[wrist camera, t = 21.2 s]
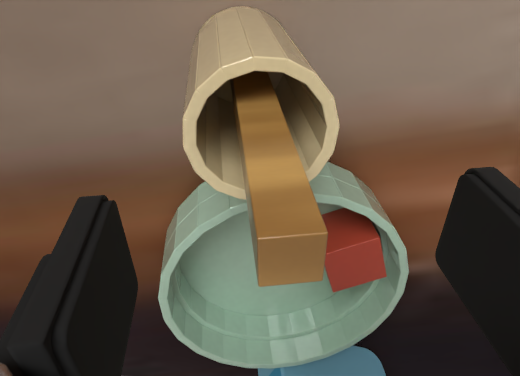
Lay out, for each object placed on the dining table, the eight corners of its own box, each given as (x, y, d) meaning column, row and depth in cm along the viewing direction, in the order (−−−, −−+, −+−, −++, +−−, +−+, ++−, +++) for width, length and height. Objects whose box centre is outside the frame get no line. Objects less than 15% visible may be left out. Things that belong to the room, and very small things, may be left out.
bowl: (223, 112, 24) (227, 150, 20) (425, 201, 30) (459, 245, 26) (134, 290, 32) (124, 344, 28) (309, 333, 38) (321, 383, 34)
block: (308, 218, 29) (321, 255, 26) (360, 202, 29) (380, 237, 26) (319, 254, 32) (333, 293, 28) (368, 239, 31) (387, 277, 28)
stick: (227, 41, 22) (256, 239, 8) (255, 40, 22) (329, 232, 9) (228, 70, 22) (257, 288, 9) (256, 69, 23) (323, 282, 10)
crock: (217, -15, 20) (224, 24, 12) (309, 37, 22) (369, 101, 14) (176, 83, 23) (159, 170, 15) (262, 121, 25) (289, 217, 17)
